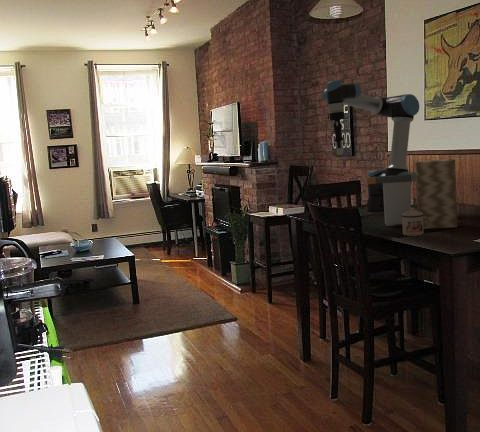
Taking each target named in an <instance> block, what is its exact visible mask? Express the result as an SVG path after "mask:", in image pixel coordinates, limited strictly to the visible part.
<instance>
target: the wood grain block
mask: <svg viewBox="0 0 480 432" xmlns="http://www.w3.org/2000/svg"><path fill="white" fill-rule="evenodd" d="M414 165H415V167H414V169H415V170H414V172H416V181H415V190H416V193H415V194H416V210H417V211H419V212H422V213H423V217H428V218H430V221H431V222H430V225H429V226H428V227H427V228H424V230H425V229H427V230H428V229H445V228H447V229H448V228H458V211H457V210H458V209H457V208H458V206H457V205H458V204H457V179H456V178H457V177H456V176H457V174H456V160H455V159H453V158H447V159H445V158H444V159H434V160H421V161H414ZM427 224H428V219H427V218H424V219H423V227H424V226H426V225H427Z"/></svg>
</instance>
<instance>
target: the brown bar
mask: <svg viewBox="0 0 480 432" xmlns="http://www.w3.org/2000/svg"><path fill="white" fill-rule="evenodd" d="M409 174H410V175H396V176H382V177H367V176H366V184H367V185H368V184H378V183H392V182H407V181H412V183H413V182H415V183H416V172H415V171H409Z"/></svg>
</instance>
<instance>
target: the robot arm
mask: <svg viewBox="0 0 480 432" xmlns="http://www.w3.org/2000/svg"><path fill="white" fill-rule="evenodd" d="M325 86H326V87H325V88H326V89H324V90H323V93H322V99H323V100H324V102H326V103H327V106H328V107H327V109H328V113H329V114H328V116H329V121H334V123H333V129H334V133H335V140H334V142H335V146H336V155H337V156H339V155H341V156H342V155H343V153H344V143H343V141H344V138H343V135H342V130H343V128H342V126H343V125H342V123H341V120H344V119H345V118H346V117H345V112H344V108H345V106H350V107H353V108H357V109H361V110H365V111H369V112H371V113H372V114H374V115H377V116H382V117H385V118H391V120H392V122H393V130H392V137H391V138H392V139H391V148H390V149H391V150H390V160H389V165H388V166H387V167H386V168H385V169H379V170H372V171H368V173H367V176H366V178H367V177H382V176H396V175H410V172H409V169H408V167H407V157H408V156H407V155H408V150H409V149H408V147H409V140H410V139H409V138H410V137H409V136H410V129H411V123H412V122H413V121H414V117H415V115H417V114H418V113H419V111H420V101H419V100H418V99H417V97H416V96H415V95H414V94H411V93H409V94H407V93H405V94H401V95H392V96H387V97H380V96H376V97H373V96H369V95H366V94H362V87H361V85H360V84H359V83H353V82H352V83H344V84H342V80H339V79H338V80H331V81H328V82H326V85H325ZM409 182H410V187H411V186H412V183H413V182H412V181H409ZM367 195H368V198H367V202H366V205H365V211H367V212H373V213H375V212H376V213H377V212H378V213H379V212H384V194H383V183H378V184H367Z"/></svg>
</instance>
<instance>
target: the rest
mask: <svg viewBox="0 0 480 432" xmlns="http://www.w3.org/2000/svg"><path fill="white" fill-rule="evenodd" d="M383 194H384V211H383V212H384V223H385V224H386V225H385V227H392V226H393V227H394V226H397V225H402V216H401V215H402V214H403V213H405V212H407V211H408V210H410V208H412V202H411V201H412V199H411V198H412V197H411V186H410V182H409V181H407V182H392V183H383Z"/></svg>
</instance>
